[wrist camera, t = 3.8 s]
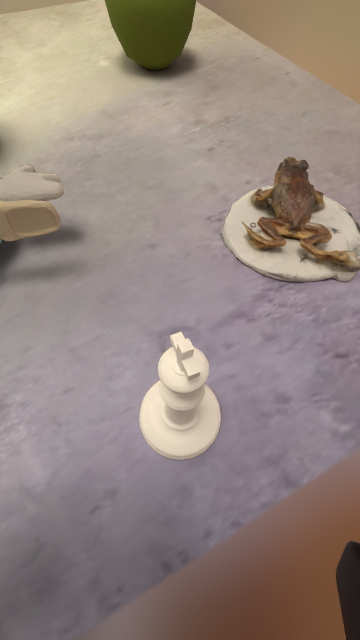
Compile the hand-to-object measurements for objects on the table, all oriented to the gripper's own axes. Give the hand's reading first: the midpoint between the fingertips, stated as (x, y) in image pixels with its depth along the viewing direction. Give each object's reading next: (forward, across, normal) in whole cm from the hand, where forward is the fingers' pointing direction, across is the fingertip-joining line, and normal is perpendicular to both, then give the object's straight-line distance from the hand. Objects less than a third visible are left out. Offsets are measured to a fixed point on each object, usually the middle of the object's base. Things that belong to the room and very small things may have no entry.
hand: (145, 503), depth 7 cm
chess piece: (+11, 0, +5) cm, 12 cm away
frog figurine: (+24, -6, -8) cm, 26 cm away
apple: (+43, +14, -26) cm, 52 cm away
